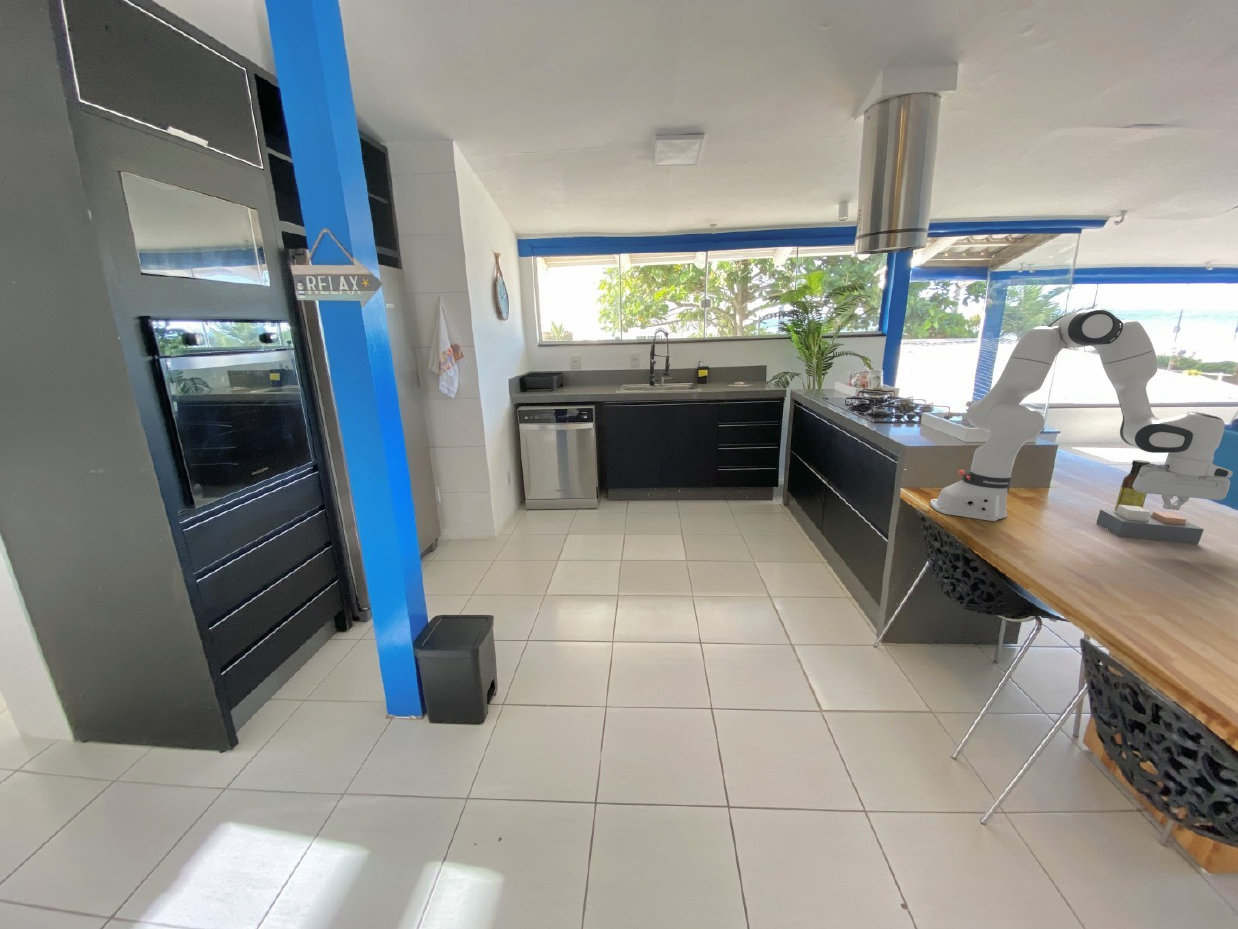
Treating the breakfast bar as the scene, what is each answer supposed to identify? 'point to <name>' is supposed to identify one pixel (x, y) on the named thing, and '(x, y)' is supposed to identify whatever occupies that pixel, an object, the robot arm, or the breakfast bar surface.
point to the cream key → (1132, 512)
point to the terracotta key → (1168, 518)
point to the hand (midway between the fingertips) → (1170, 509)
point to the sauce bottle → (1126, 491)
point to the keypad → (1149, 528)
